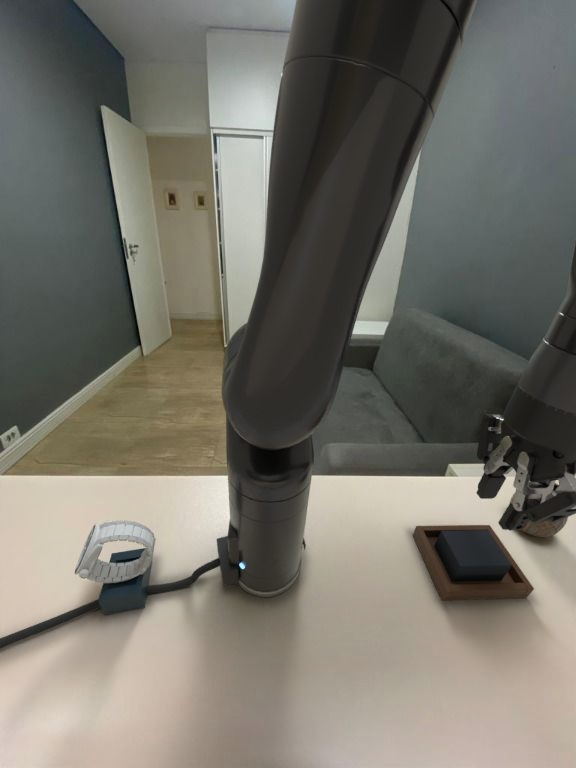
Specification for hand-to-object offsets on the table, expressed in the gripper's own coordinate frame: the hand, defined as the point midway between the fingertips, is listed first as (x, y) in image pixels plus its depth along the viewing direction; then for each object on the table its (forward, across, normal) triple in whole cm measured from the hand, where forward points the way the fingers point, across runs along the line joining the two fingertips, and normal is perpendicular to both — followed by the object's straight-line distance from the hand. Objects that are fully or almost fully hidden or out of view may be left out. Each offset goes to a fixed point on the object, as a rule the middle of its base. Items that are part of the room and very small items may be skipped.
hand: (496, 510), depth 38 cm
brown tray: (+11, 0, 0) cm, 11 cm away
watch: (+11, +2, -45) cm, 46 cm away
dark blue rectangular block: (+11, 0, 0) cm, 11 cm away
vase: (+11, -6, +14) cm, 19 cm away
